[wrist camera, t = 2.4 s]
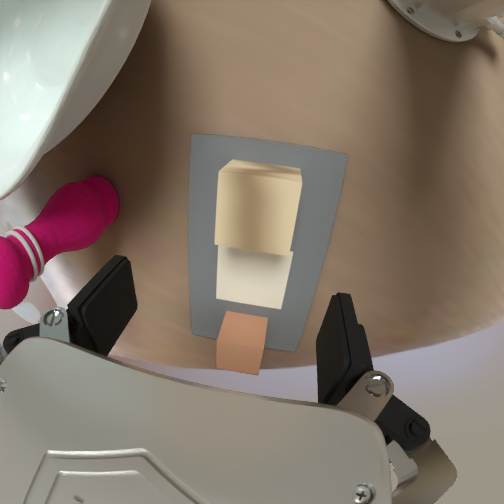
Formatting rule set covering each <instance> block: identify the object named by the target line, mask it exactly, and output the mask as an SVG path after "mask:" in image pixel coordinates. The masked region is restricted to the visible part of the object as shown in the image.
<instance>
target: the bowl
mask: <svg viewBox="0 0 504 504" xmlns="http://www.w3.org/2000/svg"><path fill="white" fill-rule="evenodd" d="M150 3H151V0H0V200H2V199H4V198H6V197H7V196H9V195H10V194H11V193H12V192H14V191H15V190H16V189H17V188H18V187H19V186H20V185H21V184H22V183H23V182H24V181H25V179H26V178H27V177H28V176H29V174H30V173H31V172H32V171H33V169H34V168H35V166H36V165H37V164H38V162H39V161H40V159H41V157H42V156H43V155H44V154H45V153H47V152H48V151H50V150H51V149H52V148H54V147H55V146H56V145H58V144H59V143H60V142H61V141H62V140H63V139H65V138H66V137H67V136H68V135H69V134H70V133H71V132H72V131H73V130H74V129H75V128H76V127H77V126H78V125H79V124H80V123H81V122H82V121H83V120H84V119H85V118H86V117H87V115H88V114H89V113H90V112H91V111H92V110H93V108H94V107H95V106H96V105H97V103H98V102H99V101H100V99H101V98H102V97H103V95H104V94H105V93H106V91H107V90H108V88H109V87H110V85H111V84H112V82H113V81H114V79H115V78H116V76H117V75H118V73H119V71H120V70H121V68H122V66H123V64H124V63H125V61H126V59H127V57H128V55H129V54H130V52H131V50H132V48H133V46H134V44H135V42H136V40H137V37H138V35H139V33H140V31H141V28H142V26H143V23H144V21H145V18H146V16H147V13H148V10H149V6H150Z"/></svg>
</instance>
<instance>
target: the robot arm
mask: <svg viewBox="0 0 504 504" xmlns="http://www.w3.org/2000/svg"><path fill="white" fill-rule="evenodd" d="M387 1H388V2H389V3H390V4H391V5H392V7H393V8H394V9H395V10H396V11H397V12H398V13H399V14H400V15H402V16H403V17H404V18H405V19H406V20H408V21H409V22H410V23H411V24H413V25H414V26H416V27H417V28H419V29H420V30H422V31H423V32H425V33H427V34H429V35H431V36H433V37H436V38H438V39H441V40H444V41H449V42H462V41H467V40H469V39H472V38H474V37H475V36H476V35H477V34H478V32H479V30H480V27H482V26H483V27H485V28H486V29H487V30H491V29H492V30H493V31H494V32H496V34H498V35H499V36H500V37H502V38H503V39H504V23H502V22H501V21H499V20H497V19H496V17H495V16H498V17H499V18H502V17H503V15H504V0H387ZM67 306H68V309H67V310H65V309H64V308H62V307H53V308H50V309H48V310H46V311H45V312H44V313H43V314H42V316H41V318H40V323H38V324H35V325H31V326H28V327H25V328H21V329H18V330H14V331H12V332H10V333H9V334H8V335H7V336H6V337H5V339H4V341H3V345H1V344H0V504H434V503H435V502H436V501H437V500H438V499H439V498H440V497H441V496H442V495H443V494H444V493H445V492H446V491H447V490H448V489H449V488H450V487H451V486H452V485H453V484H454V482H455V481H456V478H457V470H456V468H455V466H454V465H453V463H452V462H451V460H450V459H449V458H448V456H447V455H446V454H445V452H444V451H443V450H442V448H441V447H440V445H439V444H438V443H437V441H436V440H435V439H434V440H433V441H432V440H431V438H430V437H429V436H430V426H429V424H428V422H427V421H426V420H425V419H424V418H423V417H421V416H420V415H419V414H418V413H416V412H415V411H414V410H412V409H411V408H410V407H408V406H407V405H406V404H405V403H403V402H402V401H401V400H399V399H398V398H397V397H395V396H394V395H393V392H394V385H393V382H392V380H391V379H390V377H388V376H387V375H386V374H384V373H382V372H380V371H374V369H373V364H372V360H371V355H370V351H369V346H368V342H367V338H366V334H365V330H364V327H363V325H361V324H358V322H357V318H356V314H355V310H354V306H353V302H352V298H351V295H350V294H347V293H339V292H338V293H337V294H336V295H332V297H331V300H330V303H329V306H328V309H327V312H326V314H325V317H324V320H323V323H322V325H321V328H320V331H319V333H318V336H317V339H316V356H317V381H318V403H314V402H307V401H297V400H289V399H281V398H274V397H268V396H260V395H254V394H248V393H241V392H236V391H231V390H225V389H220V388H215V387H211V386H207V385H201V384H198V383H193V382H189V381H185V380H181V379H177V378H174V377H170V376H166V375H163V374H159V373H156V372H152V371H149V370H146V369H142V368H139V367H136V366H132V365H130V364H126V363H123V362H121V361H118V360H115V359H112V358H109V357H107V356H108V354H109V352H110V351H111V349H112V347H113V346H114V344H115V343H116V341H117V339H118V338H119V336H120V335H121V333H122V332H123V330H124V329H125V327H126V325H127V324H128V322H129V321H130V319H131V318H132V316H133V315H134V313H135V312H136V310H137V299H136V294H135V288H134V282H133V276H132V269H131V263H130V261H129V260H128V259H127V257H124V256H119V255H115V256H114V257H113V258H111V259H110V260H109V261H108V262H107V263H106V264H105V266H104V267H103V268H102V269H101V270H100V271H99V272H98V273H97V274H96V275H95V276H94V277H93V278H92V279H91V280H90V281H89V282H88V283H87V284H86V285H85V286H84V287H83V288H82V289H81V291H80V292H79V293H78V294H77V295H76V296H75V297H74V298H73V299H72V300H71V302H70V303H69V304H68V305H67ZM390 463H392V465H393V466H394V467H395V469H394V472H395V473H396V475H397V477H398V485H397V487H396V489H395V490H394V491H393V492H392V488H391V487H392V486H391V471H390ZM356 486H357V487H356Z"/></svg>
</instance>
